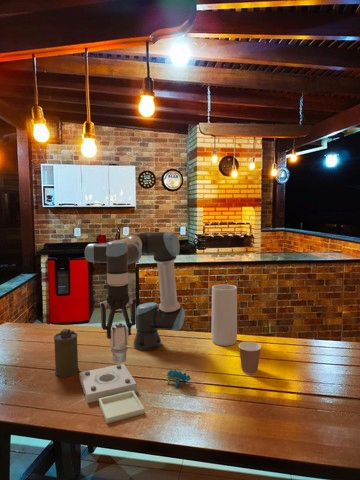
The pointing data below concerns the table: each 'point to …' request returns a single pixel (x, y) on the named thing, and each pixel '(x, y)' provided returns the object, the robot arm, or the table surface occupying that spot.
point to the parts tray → (120, 406)
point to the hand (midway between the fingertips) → (119, 345)
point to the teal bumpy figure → (179, 376)
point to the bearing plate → (106, 382)
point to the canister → (66, 353)
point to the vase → (224, 314)
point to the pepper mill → (119, 343)
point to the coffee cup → (249, 356)
